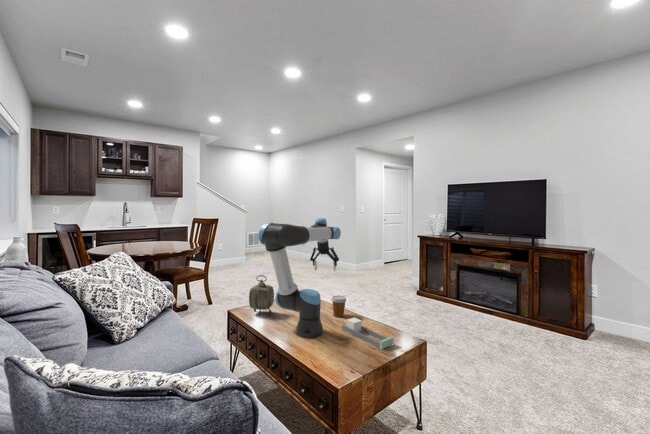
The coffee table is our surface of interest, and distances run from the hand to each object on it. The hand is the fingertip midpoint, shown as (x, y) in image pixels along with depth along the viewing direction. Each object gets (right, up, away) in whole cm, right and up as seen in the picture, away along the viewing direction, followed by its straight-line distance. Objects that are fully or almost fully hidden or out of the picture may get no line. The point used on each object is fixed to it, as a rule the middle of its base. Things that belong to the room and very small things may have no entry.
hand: (325, 270), depth 216 cm
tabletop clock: (-42, -26, -12) cm, 51 cm away
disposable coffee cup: (+8, -27, -13) cm, 32 cm away
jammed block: (+16, -29, -36) cm, 49 cm away
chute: (+22, -29, -43) cm, 57 cm away
